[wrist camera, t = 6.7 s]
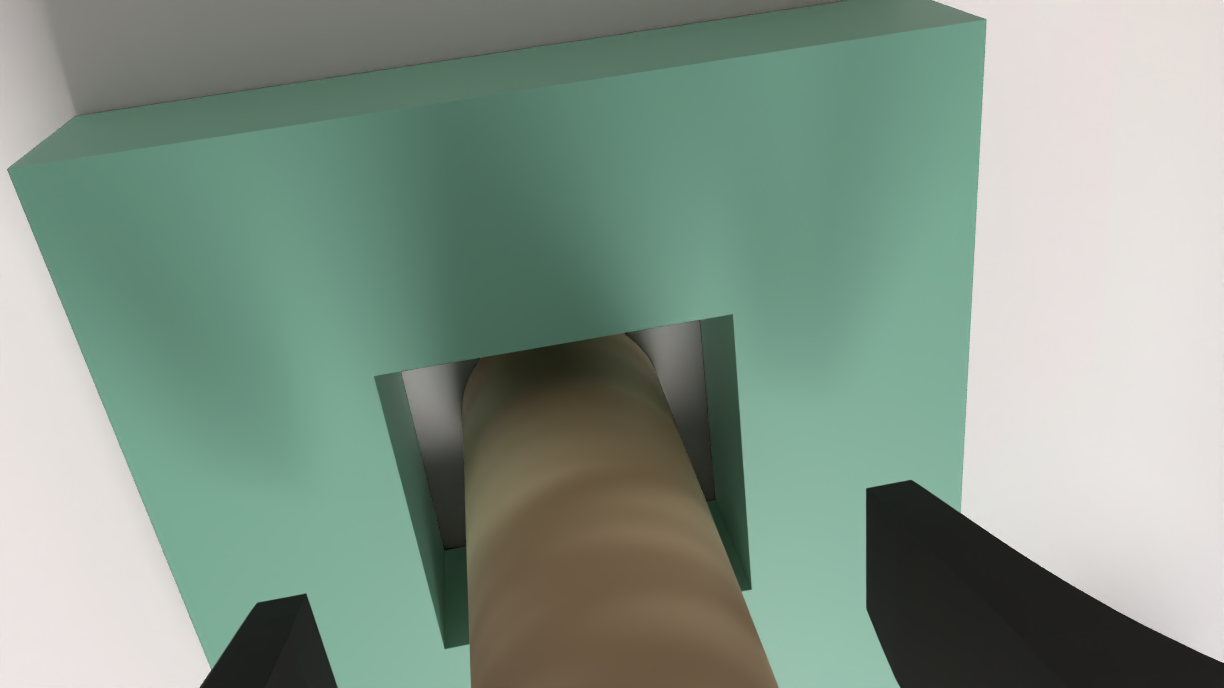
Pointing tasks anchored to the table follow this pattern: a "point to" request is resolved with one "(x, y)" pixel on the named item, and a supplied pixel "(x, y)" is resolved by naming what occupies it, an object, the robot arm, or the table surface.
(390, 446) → the socket block
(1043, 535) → the table surface
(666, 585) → the dowel
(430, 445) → the table surface
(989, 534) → the robot arm
